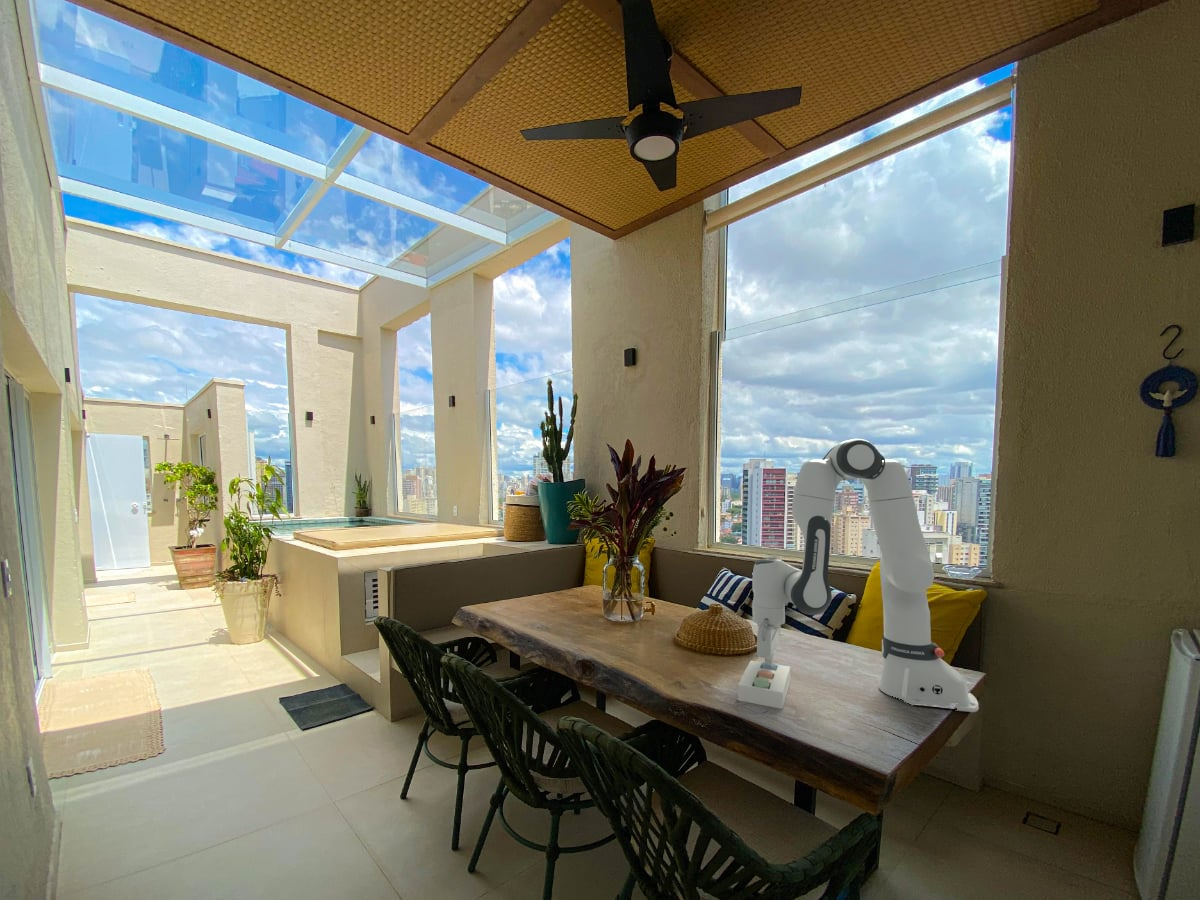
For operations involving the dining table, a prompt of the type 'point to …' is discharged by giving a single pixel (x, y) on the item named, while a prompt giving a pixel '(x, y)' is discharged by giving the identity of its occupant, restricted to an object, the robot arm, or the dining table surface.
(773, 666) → the blue button
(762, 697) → the button console
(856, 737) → the dining table surface
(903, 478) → the robot arm
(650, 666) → the dining table surface
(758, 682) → the sage button
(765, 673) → the terracotta button
